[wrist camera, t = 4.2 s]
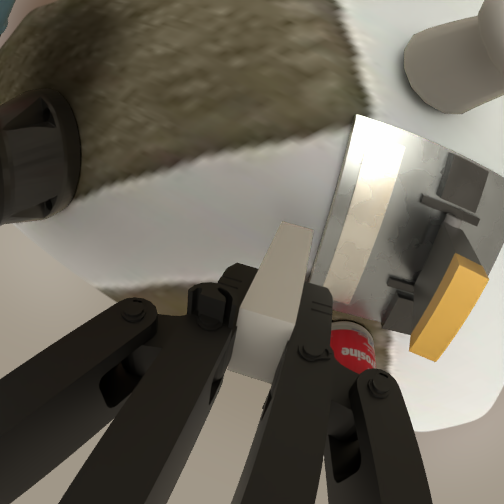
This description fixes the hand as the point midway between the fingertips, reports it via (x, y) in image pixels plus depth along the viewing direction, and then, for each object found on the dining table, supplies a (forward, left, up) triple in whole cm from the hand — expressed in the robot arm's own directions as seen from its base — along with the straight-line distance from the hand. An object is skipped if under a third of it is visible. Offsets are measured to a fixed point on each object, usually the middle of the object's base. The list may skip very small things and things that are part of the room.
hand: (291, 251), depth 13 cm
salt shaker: (+7, +12, -8) cm, 16 cm away
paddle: (+10, 0, -5) cm, 11 cm away
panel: (+9, 0, -8) cm, 12 cm away
